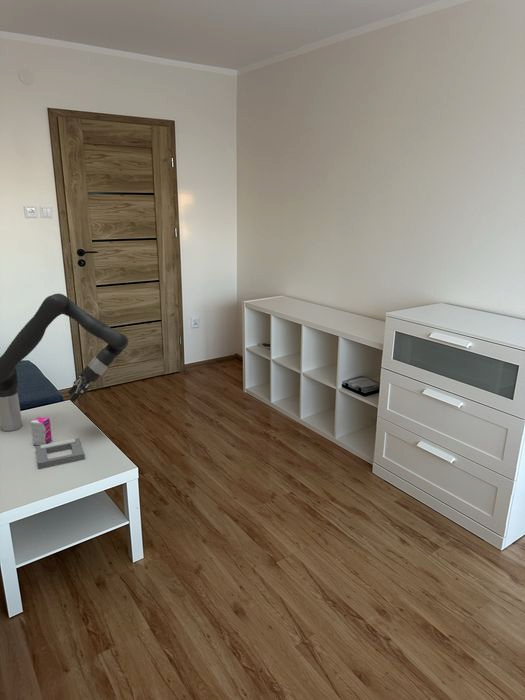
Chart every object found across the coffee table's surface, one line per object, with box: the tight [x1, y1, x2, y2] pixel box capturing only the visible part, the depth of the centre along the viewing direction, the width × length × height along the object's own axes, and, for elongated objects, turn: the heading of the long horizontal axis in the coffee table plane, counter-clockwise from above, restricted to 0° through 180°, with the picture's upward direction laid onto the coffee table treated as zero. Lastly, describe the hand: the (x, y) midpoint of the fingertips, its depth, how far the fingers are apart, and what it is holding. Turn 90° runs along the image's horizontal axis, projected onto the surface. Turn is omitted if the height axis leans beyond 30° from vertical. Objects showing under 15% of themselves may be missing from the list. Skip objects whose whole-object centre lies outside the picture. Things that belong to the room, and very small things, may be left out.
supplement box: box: [30, 416, 53, 447], centre depth 220 cm, size 6×6×12 cm
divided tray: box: [34, 437, 86, 470], centre depth 211 cm, size 16×18×3 cm
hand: (70, 397), depth 221 cm, fingers open, 8 cm apart
